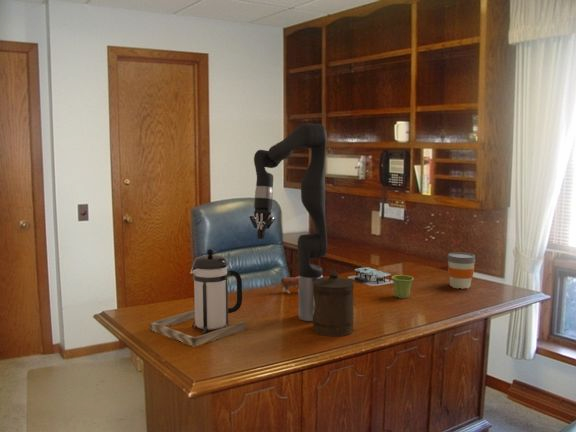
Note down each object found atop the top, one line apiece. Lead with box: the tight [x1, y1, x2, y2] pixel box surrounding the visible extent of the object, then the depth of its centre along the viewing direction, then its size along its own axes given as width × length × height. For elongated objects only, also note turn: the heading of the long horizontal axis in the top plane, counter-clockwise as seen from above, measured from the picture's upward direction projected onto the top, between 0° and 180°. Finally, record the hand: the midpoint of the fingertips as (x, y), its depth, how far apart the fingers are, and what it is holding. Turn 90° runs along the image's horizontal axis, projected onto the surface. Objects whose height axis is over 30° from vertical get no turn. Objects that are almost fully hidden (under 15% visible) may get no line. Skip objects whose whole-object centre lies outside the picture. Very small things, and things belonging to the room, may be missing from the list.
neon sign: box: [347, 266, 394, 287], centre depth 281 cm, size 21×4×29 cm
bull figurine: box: [280, 276, 299, 295], centre depth 261 cm, size 4×13×8 cm, turn 89°
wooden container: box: [312, 270, 355, 337], centre depth 211 cm, size 15×15×22 cm
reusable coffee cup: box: [447, 252, 476, 290], centre depth 272 cm, size 13×13×15 cm
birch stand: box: [149, 309, 247, 346], centre depth 212 cm, size 25×24×3 cm
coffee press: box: [189, 248, 243, 335], centre depth 212 cm, size 17×16×30 cm
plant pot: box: [391, 274, 414, 299], centre depth 255 cm, size 9×9×9 cm
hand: (260, 238), depth 242 cm, fingers closed
